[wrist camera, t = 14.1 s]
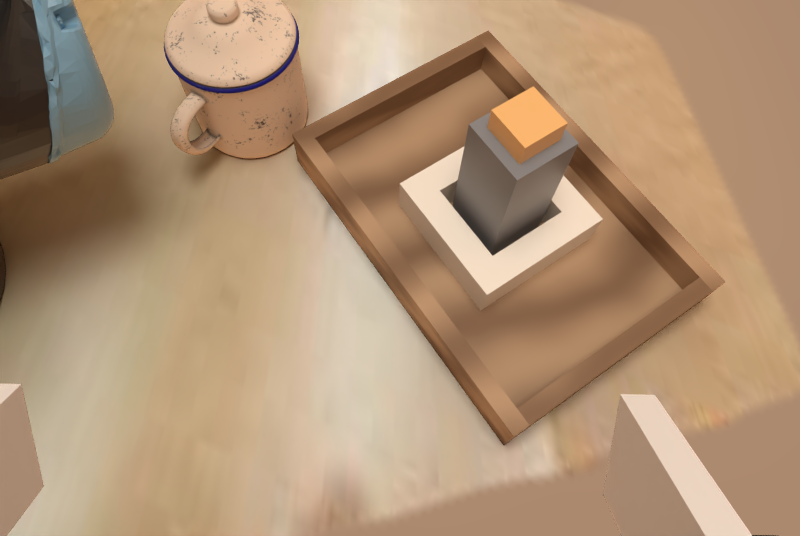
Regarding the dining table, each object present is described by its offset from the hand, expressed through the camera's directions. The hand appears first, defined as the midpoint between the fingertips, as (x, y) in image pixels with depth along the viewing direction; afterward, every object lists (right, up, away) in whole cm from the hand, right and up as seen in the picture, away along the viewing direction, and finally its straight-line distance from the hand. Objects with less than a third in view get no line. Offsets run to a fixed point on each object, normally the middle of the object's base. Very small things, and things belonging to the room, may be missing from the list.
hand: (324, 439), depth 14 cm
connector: (+9, +7, +32) cm, 34 cm away
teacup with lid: (-11, +15, +37) cm, 41 cm away
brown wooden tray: (+9, +7, +33) cm, 35 cm away
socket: (+9, +7, +33) cm, 34 cm away
